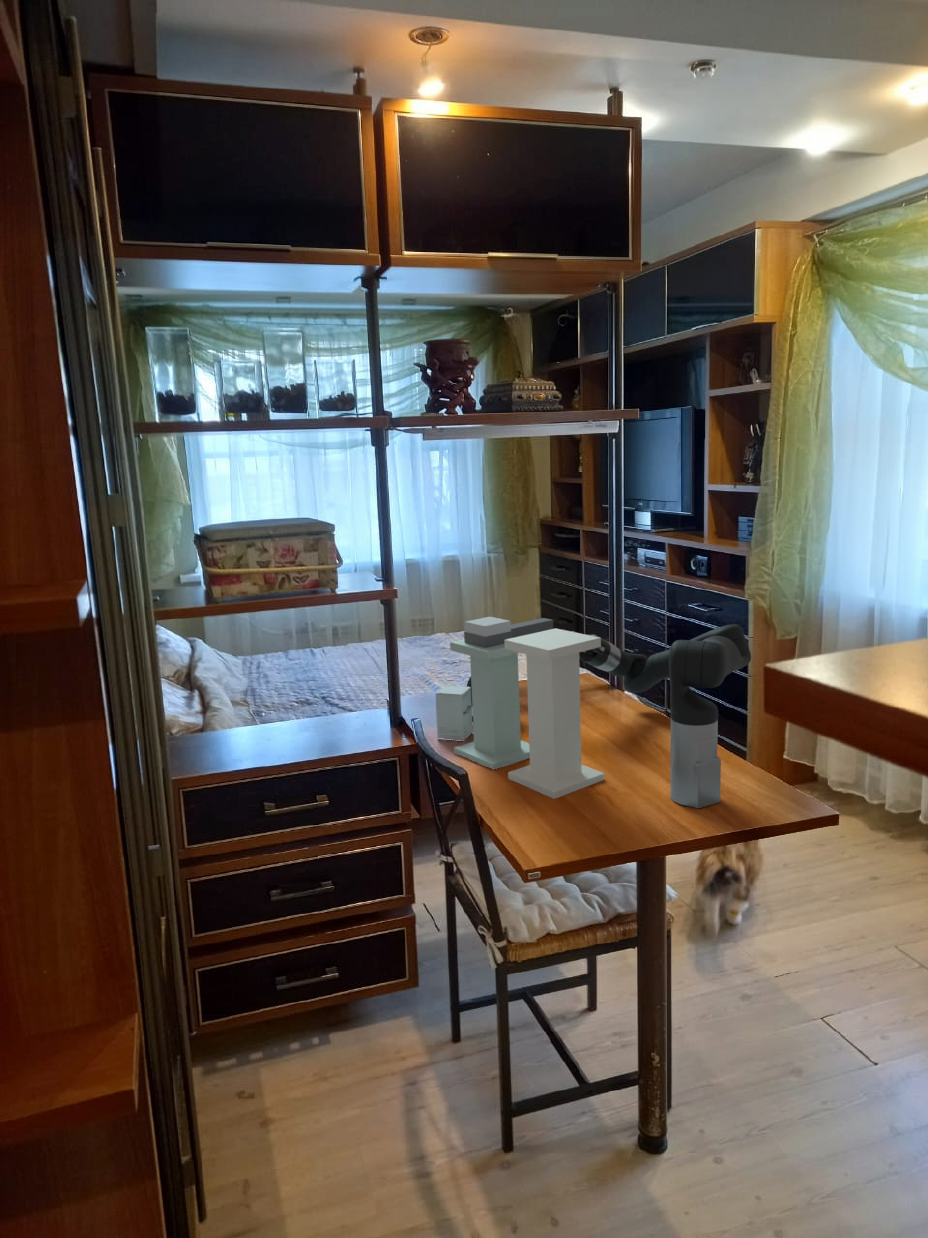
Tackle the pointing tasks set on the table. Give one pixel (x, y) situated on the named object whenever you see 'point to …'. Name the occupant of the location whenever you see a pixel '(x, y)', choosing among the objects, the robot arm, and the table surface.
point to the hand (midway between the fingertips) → (559, 632)
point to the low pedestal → (493, 706)
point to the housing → (501, 630)
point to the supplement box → (454, 712)
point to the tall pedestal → (554, 712)
